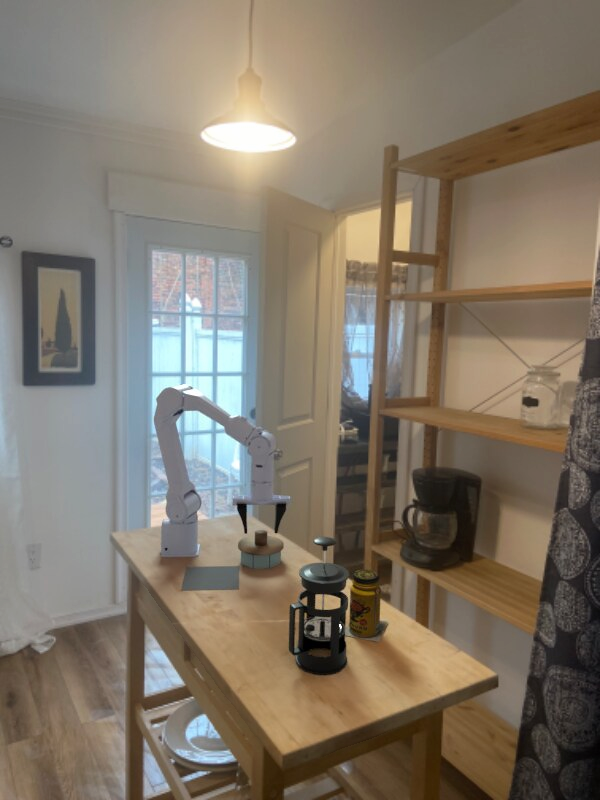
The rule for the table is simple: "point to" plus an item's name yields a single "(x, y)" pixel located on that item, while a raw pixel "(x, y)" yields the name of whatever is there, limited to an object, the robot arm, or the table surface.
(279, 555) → the bowl
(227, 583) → the mat
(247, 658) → the table surface
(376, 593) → the condiment
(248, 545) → the lid
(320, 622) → the french press
